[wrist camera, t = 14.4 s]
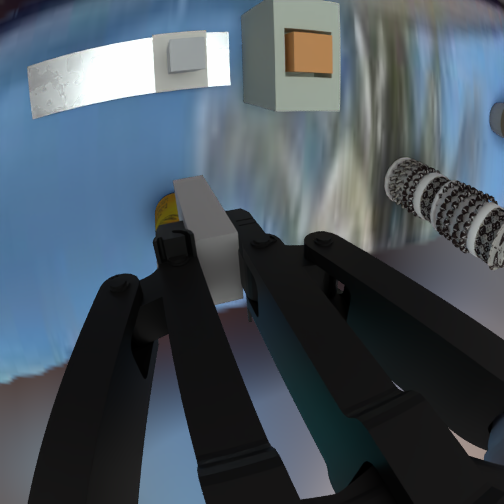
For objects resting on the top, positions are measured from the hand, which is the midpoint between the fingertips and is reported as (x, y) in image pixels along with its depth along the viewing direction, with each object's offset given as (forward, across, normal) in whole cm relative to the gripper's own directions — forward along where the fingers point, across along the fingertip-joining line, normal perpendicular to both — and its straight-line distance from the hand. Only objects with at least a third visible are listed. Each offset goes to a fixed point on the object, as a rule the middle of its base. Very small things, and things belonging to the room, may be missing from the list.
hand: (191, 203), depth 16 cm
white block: (+26, +14, +8) cm, 31 cm away
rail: (+26, -4, +9) cm, 28 cm away
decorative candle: (+25, +38, -11) cm, 47 cm away
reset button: (+18, +14, +8) cm, 24 cm away
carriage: (+25, +3, +9) cm, 26 cm away
